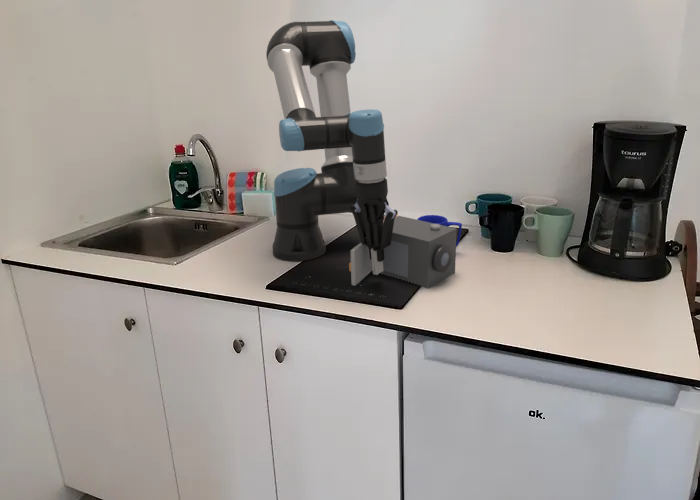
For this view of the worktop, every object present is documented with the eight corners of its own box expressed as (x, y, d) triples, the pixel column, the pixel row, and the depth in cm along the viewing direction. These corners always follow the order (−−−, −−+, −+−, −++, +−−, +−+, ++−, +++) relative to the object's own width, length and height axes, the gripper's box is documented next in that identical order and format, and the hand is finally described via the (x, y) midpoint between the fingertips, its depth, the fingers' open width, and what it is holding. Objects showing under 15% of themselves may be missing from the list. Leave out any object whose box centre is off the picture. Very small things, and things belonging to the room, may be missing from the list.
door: (368, 268, 149) (368, 233, 145) (374, 269, 148) (373, 234, 145) (349, 285, 139) (348, 248, 135) (355, 286, 138) (354, 249, 135)
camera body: (370, 270, 149) (369, 223, 145) (398, 257, 158) (398, 212, 153) (433, 290, 137) (435, 239, 132) (460, 274, 145) (462, 226, 141)
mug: (460, 260, 154) (461, 224, 151) (415, 258, 157) (415, 223, 153) (460, 249, 162) (462, 215, 158) (418, 247, 164) (418, 214, 161)
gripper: (339, 180, 133) (348, 272, 142) (382, 186, 125) (389, 283, 134) (360, 172, 139) (367, 262, 147) (402, 177, 131) (408, 272, 139)
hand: (378, 272), depth 140 cm, fingers closed
